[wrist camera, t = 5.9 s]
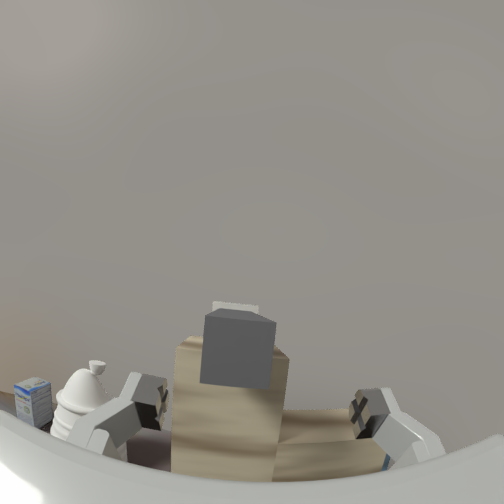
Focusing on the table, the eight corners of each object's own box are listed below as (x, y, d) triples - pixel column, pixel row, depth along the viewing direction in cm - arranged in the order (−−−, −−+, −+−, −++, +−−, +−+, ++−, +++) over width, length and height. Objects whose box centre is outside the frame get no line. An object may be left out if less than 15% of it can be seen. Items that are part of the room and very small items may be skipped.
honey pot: (123, 444, 40) (122, 356, 44) (133, 483, 29) (130, 378, 32) (57, 437, 34) (52, 345, 38) (51, 475, 23) (36, 365, 26)
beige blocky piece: (347, 559, 16) (411, 357, 20) (175, 564, 15) (176, 347, 19) (328, 524, 23) (370, 346, 28) (183, 524, 22) (191, 335, 27)
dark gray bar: (284, 390, 12) (293, 310, 12) (183, 380, 11) (190, 299, 12) (251, 337, 31) (255, 305, 32) (212, 333, 31) (215, 301, 32)
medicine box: (37, 413, 40) (34, 375, 41) (54, 419, 40) (51, 382, 42) (18, 424, 32) (13, 383, 33) (35, 432, 32) (30, 391, 34)
